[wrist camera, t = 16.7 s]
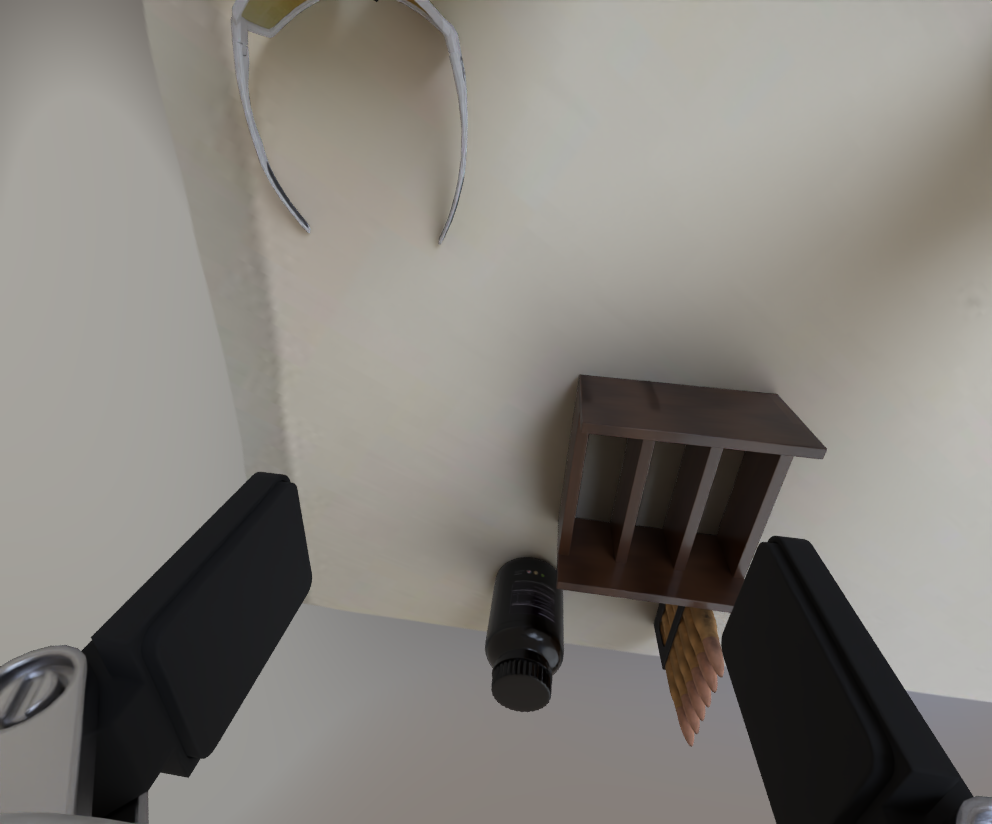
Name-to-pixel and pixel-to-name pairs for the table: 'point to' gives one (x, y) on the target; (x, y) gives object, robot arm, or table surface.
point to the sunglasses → (267, 10)
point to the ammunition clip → (689, 661)
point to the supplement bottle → (525, 634)
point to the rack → (676, 490)
